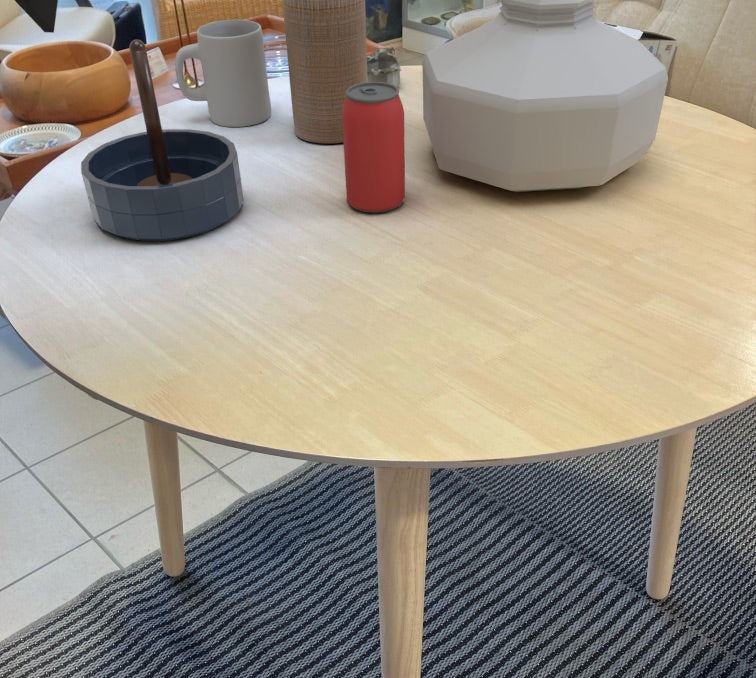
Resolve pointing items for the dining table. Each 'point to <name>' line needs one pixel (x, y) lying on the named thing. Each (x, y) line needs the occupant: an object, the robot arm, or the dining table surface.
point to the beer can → (374, 147)
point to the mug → (229, 72)
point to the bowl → (165, 202)
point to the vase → (323, 63)
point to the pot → (542, 98)
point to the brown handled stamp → (152, 119)
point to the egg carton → (383, 67)
